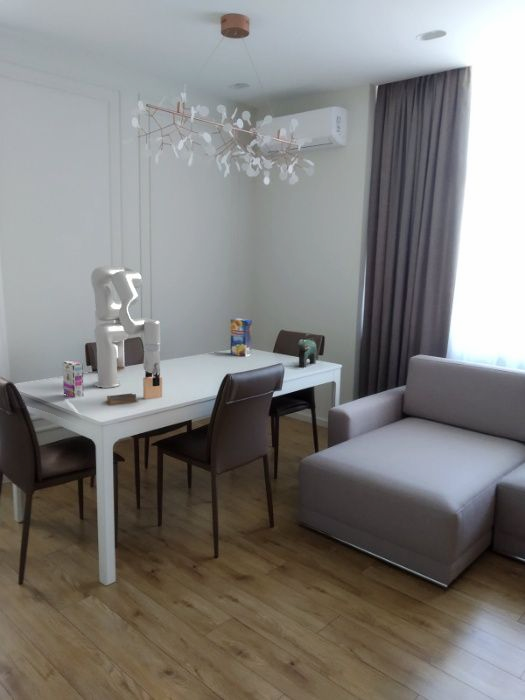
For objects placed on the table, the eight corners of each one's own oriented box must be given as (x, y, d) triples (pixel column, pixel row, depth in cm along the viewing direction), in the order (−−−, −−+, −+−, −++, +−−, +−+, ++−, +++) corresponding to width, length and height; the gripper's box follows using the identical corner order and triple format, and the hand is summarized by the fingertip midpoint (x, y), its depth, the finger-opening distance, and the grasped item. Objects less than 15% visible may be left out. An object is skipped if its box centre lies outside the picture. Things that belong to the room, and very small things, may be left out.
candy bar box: (84, 398, 253) (83, 363, 250) (74, 400, 250) (72, 364, 247) (73, 393, 261) (72, 359, 258) (63, 395, 257) (61, 361, 255)
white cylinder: (96, 372, 307) (95, 310, 301) (106, 368, 317) (104, 308, 311) (115, 373, 304) (113, 311, 298) (124, 370, 315) (123, 309, 309)
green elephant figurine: (304, 368, 331) (305, 335, 327) (294, 367, 334) (295, 334, 331) (318, 363, 347) (319, 332, 344) (309, 362, 351) (310, 331, 347)
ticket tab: (143, 398, 253) (143, 377, 251) (159, 396, 257) (159, 376, 255) (145, 400, 250) (145, 378, 249) (162, 398, 254) (162, 377, 253)
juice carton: (251, 355, 371) (251, 319, 366) (245, 356, 364) (246, 320, 360) (236, 353, 376) (236, 318, 372) (230, 354, 370) (230, 319, 366)
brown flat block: (103, 403, 245) (103, 394, 244) (134, 399, 252) (133, 390, 251) (108, 408, 238) (108, 398, 237) (139, 404, 245) (139, 394, 244)
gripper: (138, 344, 255) (138, 380, 258) (150, 350, 240) (151, 388, 243) (153, 343, 258) (153, 378, 261) (166, 349, 244) (167, 387, 247)
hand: (152, 383), depth 252 cm, fingers open, 9 cm apart
